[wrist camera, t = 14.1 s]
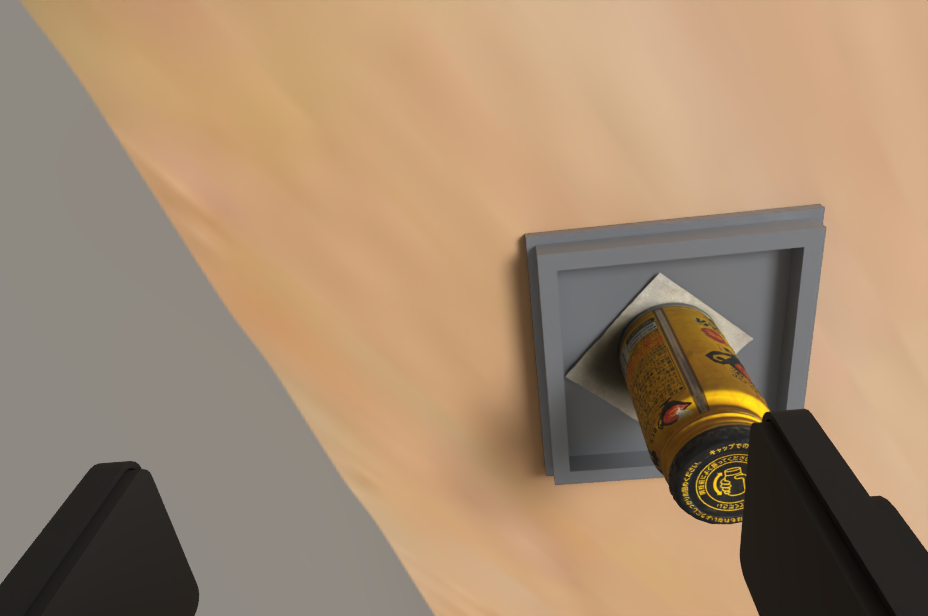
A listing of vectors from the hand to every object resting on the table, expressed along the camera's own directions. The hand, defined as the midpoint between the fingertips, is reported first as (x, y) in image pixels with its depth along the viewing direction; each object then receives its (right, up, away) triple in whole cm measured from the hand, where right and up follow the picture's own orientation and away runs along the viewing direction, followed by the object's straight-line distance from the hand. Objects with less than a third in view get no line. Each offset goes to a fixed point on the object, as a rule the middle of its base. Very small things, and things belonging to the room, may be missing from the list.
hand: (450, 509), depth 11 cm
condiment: (+12, 0, +31) cm, 33 cm away
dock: (+13, +1, +31) cm, 34 cm away
